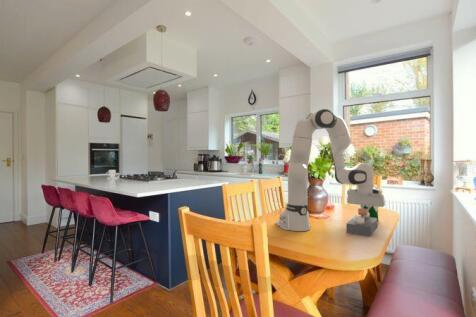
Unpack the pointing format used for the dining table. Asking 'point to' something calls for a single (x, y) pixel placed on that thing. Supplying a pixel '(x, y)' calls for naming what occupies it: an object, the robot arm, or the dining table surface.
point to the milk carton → (372, 211)
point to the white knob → (359, 220)
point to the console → (362, 226)
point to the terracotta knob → (362, 212)
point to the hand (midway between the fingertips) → (365, 212)
